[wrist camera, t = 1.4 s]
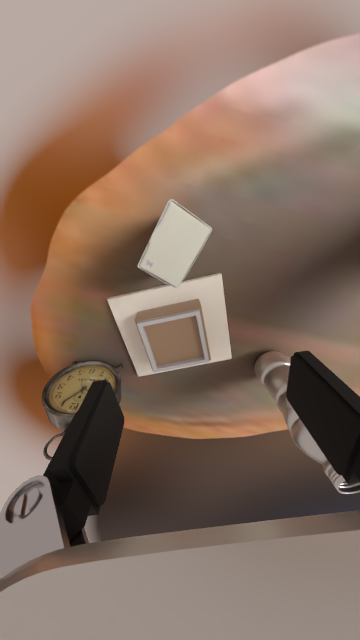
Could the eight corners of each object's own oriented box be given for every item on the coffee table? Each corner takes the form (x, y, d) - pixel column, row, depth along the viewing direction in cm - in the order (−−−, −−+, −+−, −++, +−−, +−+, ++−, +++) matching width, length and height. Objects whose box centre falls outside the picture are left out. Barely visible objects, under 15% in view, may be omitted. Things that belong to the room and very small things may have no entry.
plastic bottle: (244, 368, 38) (308, 495, 20) (263, 341, 35) (356, 460, 17) (271, 377, 39) (354, 505, 21) (291, 352, 37) (405, 473, 19)
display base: (220, 272, 30) (228, 280, 25) (230, 355, 37) (238, 372, 32) (109, 297, 31) (98, 309, 26) (139, 373, 38) (134, 392, 33)
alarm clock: (128, 358, 36) (97, 447, 22) (128, 380, 39) (101, 474, 24) (68, 354, 35) (-6, 443, 21) (71, 376, 38) (7, 471, 23)
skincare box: (175, 268, 29) (176, 293, 18) (149, 253, 28) (134, 270, 17) (198, 227, 27) (215, 228, 16) (171, 209, 26) (169, 196, 15)
